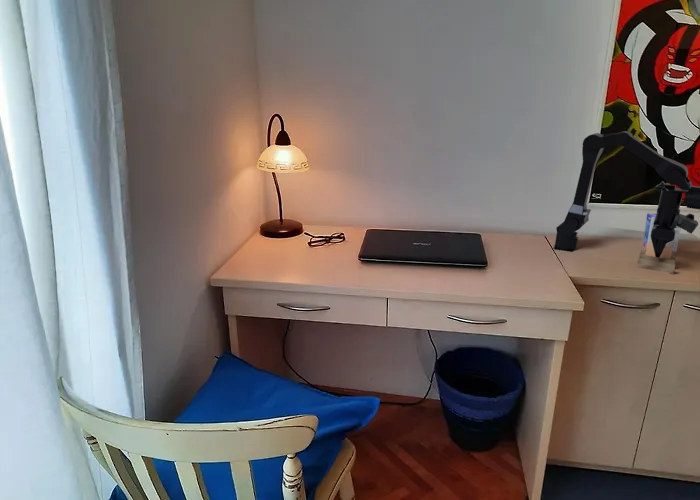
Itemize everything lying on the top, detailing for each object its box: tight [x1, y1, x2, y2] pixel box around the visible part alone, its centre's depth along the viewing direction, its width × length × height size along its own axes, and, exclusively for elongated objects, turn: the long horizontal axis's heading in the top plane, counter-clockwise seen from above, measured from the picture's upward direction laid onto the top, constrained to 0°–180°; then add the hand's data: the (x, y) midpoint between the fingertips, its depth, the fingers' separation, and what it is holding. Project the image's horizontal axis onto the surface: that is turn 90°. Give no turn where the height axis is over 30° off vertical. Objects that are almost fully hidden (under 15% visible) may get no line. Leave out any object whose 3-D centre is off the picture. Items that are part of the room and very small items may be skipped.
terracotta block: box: [645, 241, 673, 259], centre depth 170 cm, size 7×2×7 cm, turn 58°
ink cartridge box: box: [642, 213, 682, 253], centre depth 183 cm, size 10×6×14 cm, turn 78°
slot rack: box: [636, 250, 677, 275], centre depth 169 cm, size 10×10×3 cm
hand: (658, 253), depth 170 cm, fingers open, 9 cm apart
